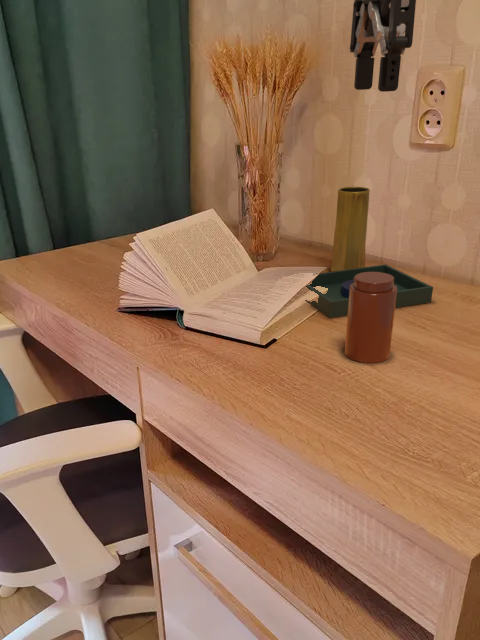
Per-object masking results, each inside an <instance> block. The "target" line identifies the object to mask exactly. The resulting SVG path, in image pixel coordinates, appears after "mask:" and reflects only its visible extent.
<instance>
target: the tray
mask: <svg viewBox="0 0 480 640" xmlns="http://www.w3.org/2000/svg"><path fill="white" fill-rule="evenodd" d="M363 272H381V273H386V274H389V275H392V276H393V277H394V285H396V286H397V296H396V305H395V309H399V308H403V307H409V306H416V305H422V304H428V303H432V299H433V292H434V286H433V285H430V284H428V283H426V282H424V281H422V280H419V279H418V278H415V277H413V276H411V275H409V274H407V273H405V272H403V271H401V270H399V269H397V268H395V267H392V266H390V265H388V264H386V263H385V264H378V265H371V266H365V267H363V268H355V269H348V270H341V271H333V272H332V271H326V272H319V273H320V274H319V275H318V276H317V277H316V278H315V279H314V280H313V281H312V284H310V285H307V286H306V287H307V288H308V289H309V290H311V291H314V292H315V293H317V294H318V295H319V298H318V303H317V302H316V301H312V302H311V303H309V304H310V305H311V306H313V307H314V308H315V309H317V310H318V311H319V312H320V313H322V314H324V315H325V316H327V318H329V319H333V318H339V317H346V316H347V315H348V302H349V298H346V297H344V296H342V294H341V287H342V283H343V282H345V281H348V280H354V277H355V276H356V275H357V274H359V273H363ZM316 286H321V287H325V288H328V291H327V293H326V294H322V293H321V292H319V291H318V290H316V289H315V288H313V287H316Z"/></svg>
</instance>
